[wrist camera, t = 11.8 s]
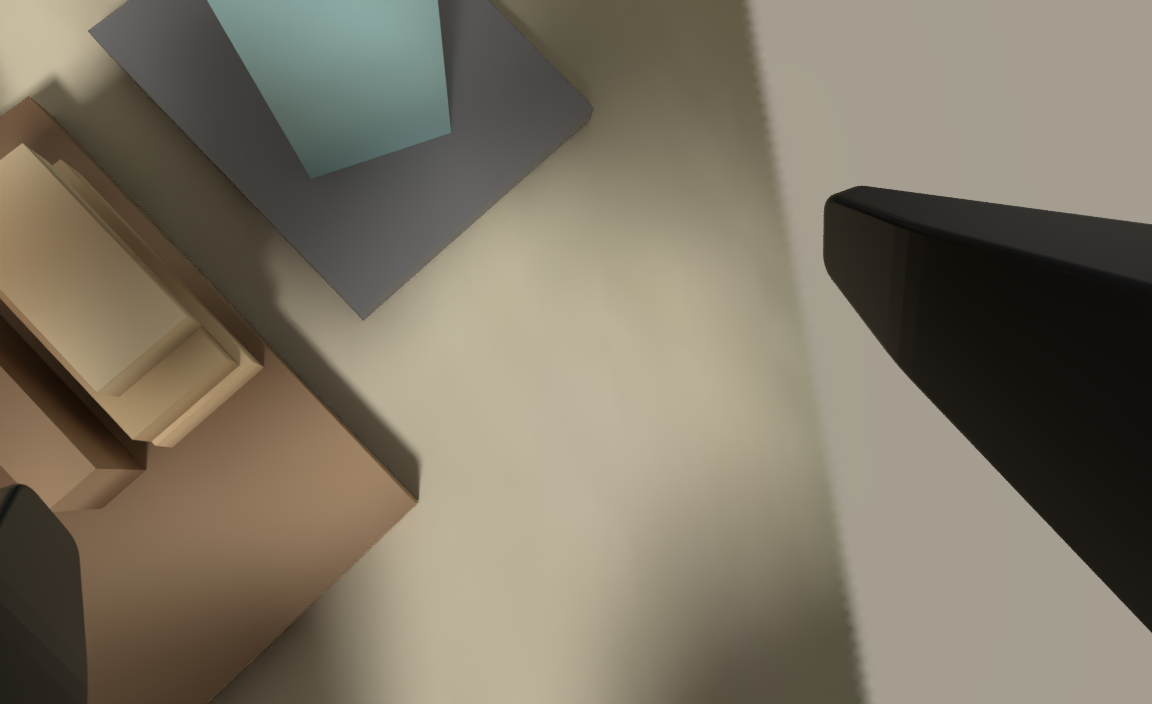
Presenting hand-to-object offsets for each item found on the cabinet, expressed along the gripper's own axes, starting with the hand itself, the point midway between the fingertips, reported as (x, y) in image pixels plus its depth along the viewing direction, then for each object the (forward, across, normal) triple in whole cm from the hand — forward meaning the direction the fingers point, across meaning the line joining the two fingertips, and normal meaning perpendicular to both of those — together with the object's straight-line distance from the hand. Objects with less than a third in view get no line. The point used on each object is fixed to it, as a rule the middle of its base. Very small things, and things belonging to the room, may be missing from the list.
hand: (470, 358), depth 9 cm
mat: (+11, 0, 0) cm, 11 cm away
